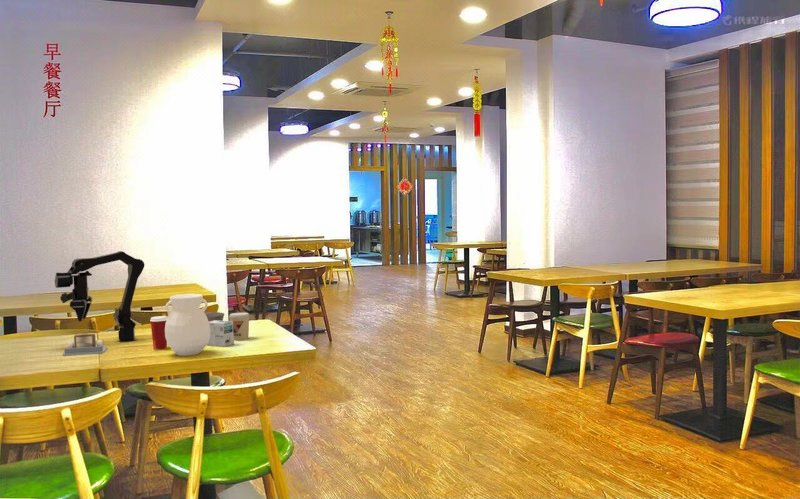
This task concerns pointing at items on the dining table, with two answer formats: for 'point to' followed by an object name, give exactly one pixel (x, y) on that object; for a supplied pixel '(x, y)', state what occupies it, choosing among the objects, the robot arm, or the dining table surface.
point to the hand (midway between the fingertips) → (82, 319)
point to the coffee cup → (240, 325)
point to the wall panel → (84, 349)
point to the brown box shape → (84, 340)
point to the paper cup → (158, 332)
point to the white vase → (187, 324)
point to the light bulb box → (221, 333)
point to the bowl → (214, 316)
